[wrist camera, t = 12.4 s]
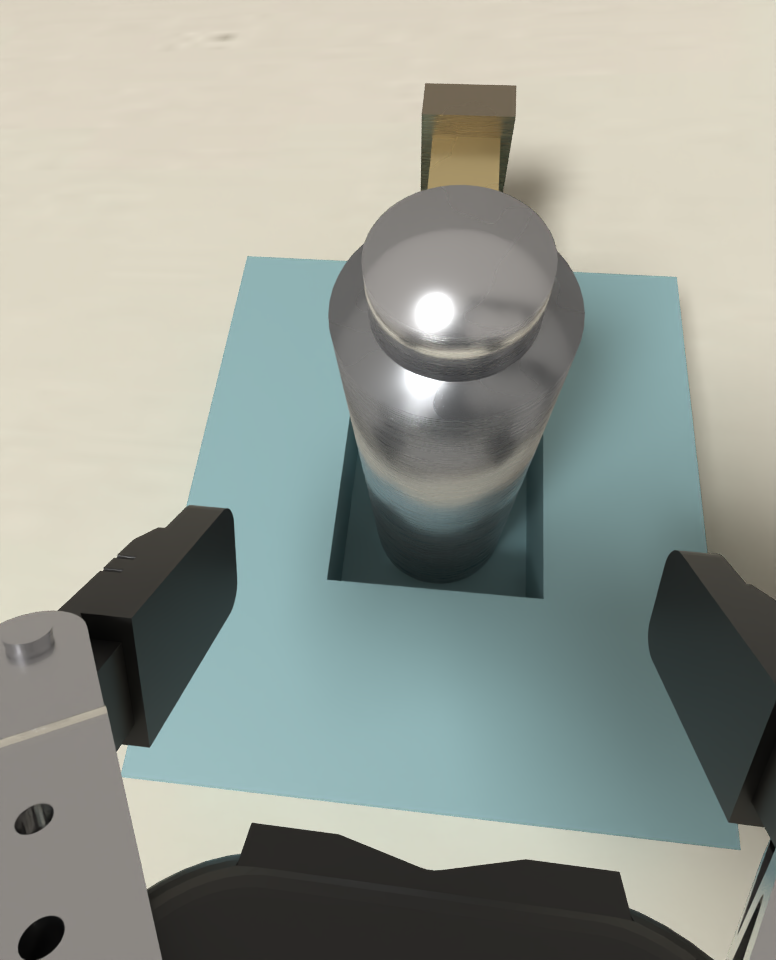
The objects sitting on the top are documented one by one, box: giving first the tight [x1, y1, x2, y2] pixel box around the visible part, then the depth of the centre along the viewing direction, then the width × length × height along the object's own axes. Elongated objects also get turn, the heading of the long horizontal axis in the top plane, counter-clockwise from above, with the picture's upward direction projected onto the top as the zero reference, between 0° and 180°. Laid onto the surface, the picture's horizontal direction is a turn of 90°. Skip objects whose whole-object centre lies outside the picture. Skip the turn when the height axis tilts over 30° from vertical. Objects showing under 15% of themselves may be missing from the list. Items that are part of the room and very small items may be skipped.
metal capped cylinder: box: [328, 185, 585, 584], centre depth 15 cm, size 4×4×13 cm
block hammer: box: [421, 83, 516, 193], centre depth 21 cm, size 3×8×3 cm, turn 174°
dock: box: [121, 256, 741, 850], centre depth 20 cm, size 16×18×4 cm
